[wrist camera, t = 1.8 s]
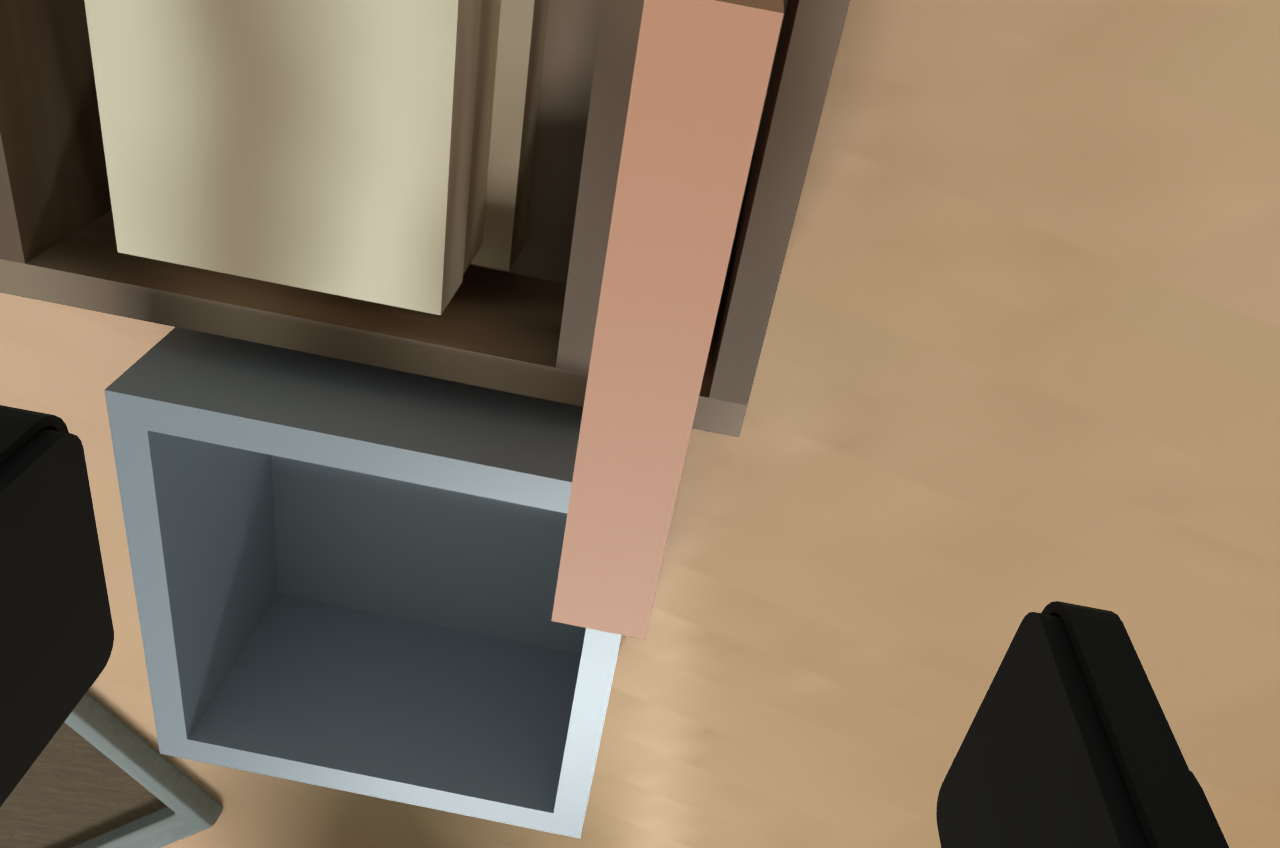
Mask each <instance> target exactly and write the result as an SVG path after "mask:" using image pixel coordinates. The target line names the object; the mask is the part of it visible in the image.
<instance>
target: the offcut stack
mask: <svg viewBox="0 0 1280 848" xmlns="http://www.w3.org/2000/svg"><path fill="white" fill-rule="evenodd" d="M84 2H85V9H86V17H87V25H88V32H89V40H90V47H91V55H92V62H93V70H94V77H95V85H96V92H97V100H98V108H99V115H100V123H101V130H102V138H103V145H104V153H105V160H106V168H107V176H108V183H109V191H110V198H111V206H112V213H113V221H114V228H115V236H116V244H117V251H118V252H119V253H124V254H129V255H134V256H139V257H145V258H150V259H155V260H160V261H165V262H170V263H175V264H180V265H185V266H191V267H196V268H201V269H206V270H211V271H216V272H221V273H226V274H231V275H237V276H242V277H247V278H252V279H257V280H262V281H267V282H272V283H277V284H283V285H288V286H293V287H298V288H303V289H308V290H313V291H318V292H323V293H329V294H334V295H339V296H344V297H349V298H354V299H359V300H364V301H369V302H375V303H380V304H385V305H390V306H395V307H400V308H405V309H410V310H415V311H421V312H426V313H431V314H436V315H441V314H442V313H443V311H444V310H445V308H446V307H447V305H448V304H449V302H450V300H451V299H452V297H453V296H454V294H455V293H456V291H457V290H458V288H459V287H460V285H461V283H462V282H463V274H464V273H465V271H466V270H467V268H468V266H469V265H470V264H475V265H480V266H485V267H490V268H496V269H501V270H506V271H509V270H510V268H511V267H512V265H513V263H514V261H515V260H516V258H517V256H518V254H519V253H520V251H521V249H522V247H523V245H524V242H525V232H526V222H527V212H528V203H529V193H530V183H531V173H532V163H533V153H534V144H535V134H536V124H537V114H538V104H539V94H540V85H541V75H542V65H543V55H544V45H545V36H546V26H547V16H548V6H549V0H84Z"/></svg>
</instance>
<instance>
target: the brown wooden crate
mask: <svg viewBox="0 0 1280 848" xmlns="http://www.w3.org/2000/svg"><path fill="white" fill-rule="evenodd" d="M849 2H850V0H783V4H784V15H783V19H782V24H781V28H780V33H779V37H778V42H777V46H776V51H775V55H774V60H773V64H772V69H771V73H770V78H769V82H768V87H767V91H766V96H765V101H764V105H763V110H762V114H761V119H760V123H759V128H758V132H757V137H756V141H755V146H754V150H753V155H752V159H751V164H750V168H749V173H748V177H747V182H746V186H745V191H744V195H743V200H742V204H741V209H740V213H739V218H738V222H737V227H736V231H735V236H734V240H733V245H732V250H731V254H730V259H729V263H728V268H727V272H726V277H725V281H724V286H723V290H722V295H721V299H720V304H719V308H718V313H717V317H716V322H715V326H714V331H713V335H712V340H711V344H710V349H709V353H708V358H707V362H706V367H705V371H704V376H703V380H702V385H701V389H700V394H699V398H698V403H697V408H696V412H695V417H694V421H693V426H692V428H693V429H698V430H704V431H709V432H714V433H719V434H724V435H729V436H734V437H739V436H740V432H741V428H742V424H743V420H744V416H745V412H746V408H747V404H748V400H749V396H750V392H751V388H752V384H753V381H754V377H755V373H756V369H757V365H758V361H759V357H760V353H761V349H762V345H763V341H764V337H765V333H766V329H767V325H768V321H769V317H770V313H771V309H772V306H773V302H774V298H775V294H776V290H777V286H778V282H779V278H780V274H781V270H782V266H783V262H784V258H785V254H786V250H787V246H788V242H789V238H790V234H791V230H792V227H793V223H794V219H795V215H796V211H797V207H798V203H799V199H800V195H801V191H802V187H803V183H804V179H805V175H806V171H807V167H808V163H809V159H810V155H811V152H812V148H813V144H814V140H815V136H816V132H817V128H818V124H819V120H820V116H821V112H822V108H823V104H824V100H825V96H826V92H827V88H828V84H829V80H830V77H831V73H832V69H833V65H834V61H835V57H836V53H837V49H838V45H839V41H840V37H841V33H842V29H843V25H844V21H845V17H846V13H847V9H848V5H849ZM643 6H644V0H549V6H548V16H547V26H546V36H545V45H544V55H543V65H542V75H541V85H540V94H539V104H538V114H537V124H536V134H535V144H534V153H533V163H532V173H531V183H530V193H529V203H528V212H527V222H526V232H525V242H524V245H523V247H522V249H521V251H520V253H519V254H518V256H517V258H516V260H515V261H514V263H513V265H512V267H511V268H510V270H509V271H506V270H501V269H496V268H490V267H485V266H480V265H475V264H470V265H469V266H468V268H467V270H466V271H465V273H464V274H463V282H462V283H461V285H460V287H459V288H458V290H457V291H456V293H455V294H454V296H453V297H452V299H451V300H450V302H449V304H448V305H447V307H446V308H445V310H444V311H443V313H442V314H441V315H436V314H431V313H426V312H421V311H415V310H410V309H405V308H400V307H395V306H390V305H385V304H380V303H375V302H369V301H364V300H359V299H354V298H349V297H344V296H339V295H334V294H329V293H323V292H318V291H313V290H308V289H303V288H298V287H293V286H288V285H283V284H277V283H272V282H267V281H262V280H257V279H252V278H247V277H242V276H237V275H231V274H226V273H221V272H216V271H211V270H206V269H201V268H196V267H191V266H185V265H180V264H175V263H170V262H165V261H160V260H155V259H150V258H145V257H139V256H134V255H129V254H124V253H119V252H118V251H117V244H116V236H115V228H114V221H113V213H112V206H111V198H110V191H109V183H108V176H107V168H106V160H105V153H104V145H103V138H102V130H101V123H100V115H99V108H98V100H97V92H96V85H95V77H94V70H93V62H92V55H91V47H90V40H89V32H88V25H87V17H86V9H85V2H84V0H0V292H1V293H6V294H11V295H16V296H21V297H27V298H32V299H37V300H42V301H47V302H52V303H57V304H62V305H67V306H72V307H77V308H83V309H88V310H93V311H98V312H103V313H108V314H113V315H118V316H123V317H128V318H133V319H139V320H144V321H149V322H154V323H159V324H164V325H169V326H174V327H179V328H184V329H189V330H195V331H200V332H205V333H210V334H215V335H220V336H225V337H230V338H235V339H240V340H245V341H251V342H256V343H261V344H266V345H271V346H276V347H281V348H286V349H291V350H296V351H301V352H307V353H312V354H317V355H322V356H327V357H332V358H337V359H342V360H347V361H352V362H357V363H362V364H368V365H373V366H378V367H383V368H388V369H393V370H398V371H403V372H408V373H413V374H418V375H424V376H429V377H434V378H439V379H444V380H449V381H454V382H459V383H464V384H469V385H474V386H480V387H485V388H490V389H495V390H500V391H505V392H510V393H515V394H520V395H525V396H530V397H536V398H541V399H546V400H551V401H556V402H561V403H566V404H571V405H576V406H581V407H583V406H584V400H585V393H586V386H587V380H588V373H589V366H590V360H591V353H592V346H593V340H594V333H595V326H596V319H597V313H598V306H599V299H600V293H601V286H602V279H603V273H604V266H605V259H606V253H607V246H608V239H609V233H610V226H611V219H612V213H613V206H614V199H615V193H616V186H617V179H618V173H619V166H620V159H621V153H622V146H623V139H624V133H625V126H626V119H627V112H628V106H629V99H630V92H631V86H632V79H633V72H634V66H635V59H636V52H637V46H638V39H639V32H640V26H641V19H642V12H643Z"/></svg>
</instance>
